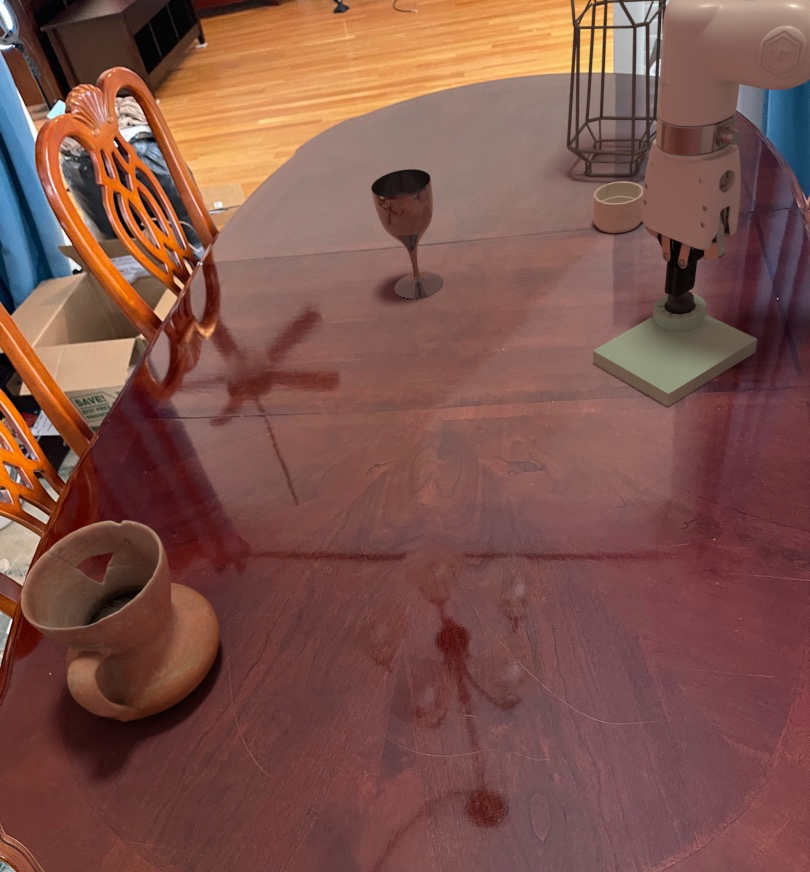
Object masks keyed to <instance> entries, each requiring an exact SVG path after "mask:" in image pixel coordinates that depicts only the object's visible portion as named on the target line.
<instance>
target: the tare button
mask: <svg viewBox="0 0 810 872" xmlns="http://www.w3.org/2000/svg"><path fill="white" fill-rule="evenodd" d="M693 294H694V293H693ZM693 294H692V292H691V291H690V290H689V291H688V292H686V293H684V294H682V295H681V296H679V297H677V298H675V297H673V296H672V295H671V294H670V295H668V298H667V311H668V312H670V313H672V314H686V313H689V312H691V311H692V309H693V302H694V295H693Z"/></svg>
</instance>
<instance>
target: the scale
mask: <svg viewBox="0 0 810 872" xmlns="http://www.w3.org/2000/svg"><path fill="white" fill-rule="evenodd" d="M691 293H692V292H691ZM692 294H693V295H694V302H693V309H692V311H691V312H689V313H686V314H672V313H670V312H668V311H667V298H668V294H665V295H663V296H661V297H660V298H658V299H656V301H655V302H654V305H653V309H652V316H651V317H648V318H647V319H646V320H643V321H642V322H640V323H638V324H637V325H635V326H633V327H632V328H630V329H628V330H626V331H624V332H623V333H621V334H620V335H619V334H618V336H616V337H614V338H612V339H611V340H609V341H607V342H605V343H604V344H602V345H600V346H598V347H597V348H595V349H593V351H592V364H594V365H595V366H597V367H598V368H600V369H602V370H603V371H605V372H607V373H609V374H611V375H612V376H614V377H616V378H617V379H619V380H621V381H623V382H624V383H626V384H628V385H629V386H631V387H632V388H635V389H636V390H638V391H639V392H641V393H643V394H645V395H647V396H648V397H650V398H652V399H653V400H655V401H657V402H658V403H660V404H661V405H663V406H665V407H666V408H669V407H670V406H671V405H673V404H675V403H677V402H678V401H679V400H681V399H683V398H684V397H686V396H688V395H689V394H691V393H692V392H694V391H696V390H697V389H698V388H701V387H702V386H703V385H705V384H707V383H709V382H710V381H712V380H713V379H715V378H716V377H718V376H719V375H721V374H723V373H724V372H726V371H727V370H729V369H731V368H732V367H733V366H735V365H737V364H739V363H741V362H742V361H744V360H745V359H747V358H749V357H750V356H752V355H753V354H755V353H756V350H757V344H758V338H757V337H755V336H752V335H750V334H748V333H746V332H744V331H742V330H740V329H737V328H736V327H733V326H731V325H729V324H727V323H725V322H723V321H720V320H718V319H716V318H714V317H713V316H710V315H708V314H707V306H708V304H707V303H706V301H705V300H704V298H703V297H702V296H700V295H697V294H695V293H692Z"/></svg>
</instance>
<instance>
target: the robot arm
mask: <svg viewBox="0 0 810 872" xmlns="http://www.w3.org/2000/svg"><path fill="white" fill-rule="evenodd" d="M661 38H662V39H661V51H660V66H659V82H658V101H657V121H656V129H655V131H656V134H655V135H656V139H655V140H654V141H653V143H652V146H651V148H650V149H649V154H648V159H647V164H646V169H645V175H644V182H643V188H644V189H643V200H642V218H643V220H642V222H643V224H644V225H645V231H646V232H648V233H649V234H650V235H651V236H653V237H654V238H655V239H657V241H658V243H659V245H660V247H661V254H662V255H661V256H662V259H663V261H664V262H666V269H665V283H664V293H665V295H667V294H668V295H670V294H671V295H672V296H673V297H675V298H677V297H679V296H681V295H682V294H684V293H686V292H688V291H689V292H690V291H691V290H693V289H694V288H695V284H696V277H697V269H698V268H697V267H698V261H700V260H702V259H704V260H710V261H717V260H719V259H721V258H722V257H724V256H726V253H727V248H726V237H728V238H729V237H733V236H734V235H735V234H736V232H737V228H738V224H739V216H740V215H739V214H740V203H741V185H742V184H741V182H742V181H741V180H742V178H741V177H742V175H741V174H742V173H741V172H742V171H741V170H742V169H741V156H740V155H741V154H740V148H739V145H738V143H739V141H740V139H741V136H742V133H741V131H740V130H738V129H736V128H735V126H736V117H737V110H738V109H737V108H738V102H739V100H738V99H739V93H740V87H741V86H740V85H743V86H747V87H751V88H755V89H761V90H770V91H783V90H790V89H793V88H796V87H798V86H801V85H803V84H805V83H807V82H808V81H810V0H669V1H668V2H667V3H666V9H665V13H664V21H663V36H662V35H661Z"/></svg>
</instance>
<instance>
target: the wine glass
mask: <svg viewBox="0 0 810 872" xmlns="http://www.w3.org/2000/svg"><path fill="white" fill-rule="evenodd" d="M370 189H371V195H372V201H373V205H374V209H375V211H376V214H377V217H378V219H379V221H380V224H381V226H382V228H384V230H385V232H386V233H387V234H388V235H390V236H391V237H392V238H394V239H395V240H396V241H398V242H399V243H400V244H401V245H403V246H404V247H405V249H406V251H407V253H408V256H409V259H410V262H411V266H412V273H409V274H408V275H406V276H403V277H402V278H400V279H399V280H398V281H397V282H396V283H395V285H394V290H393V291H394V293H395V295H396V296H398V295H399V296H398V297H400V296H401V297H400V298H402V297H405V298H404V299H406V298H410V299H409V300H417V299H416V298H418V299H423V298H426V297H430V296H432V295H433V294H436V293H437V292H439V290H440V289H442V286H443V285H444V280H443V278H442V276H441V275H440V274H438V273H435V272H431V271H419V263H418V247H419V243H420V241H421V239H422V237H424V235H425V233H426V231H427V230H428V228H429V227H430V224H431V223H432V219H433V213H434V193H433V184H432V178H431V175H430V174H429V173H428V172H427V171H425V170H421V169H416V168H415V169H413V168H408V169H407V168H406V169H400V170H396V171H392V172H390V173H386V174H383V175H382V176H380V177H378V178H377V179H376V180H375V181H374V182H373V183H372V185H371V188H370ZM411 298H412V299H411Z"/></svg>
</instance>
